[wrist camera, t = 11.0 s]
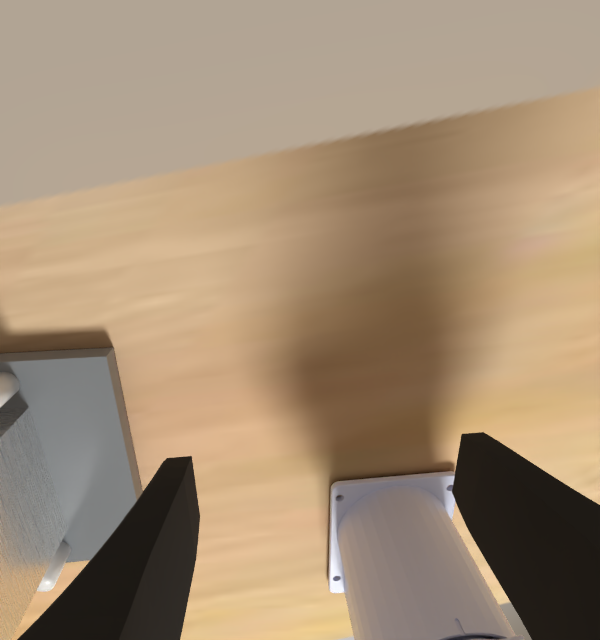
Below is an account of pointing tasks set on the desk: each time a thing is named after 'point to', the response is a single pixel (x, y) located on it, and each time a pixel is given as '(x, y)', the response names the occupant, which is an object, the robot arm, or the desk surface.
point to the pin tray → (77, 441)
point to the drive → (24, 517)
